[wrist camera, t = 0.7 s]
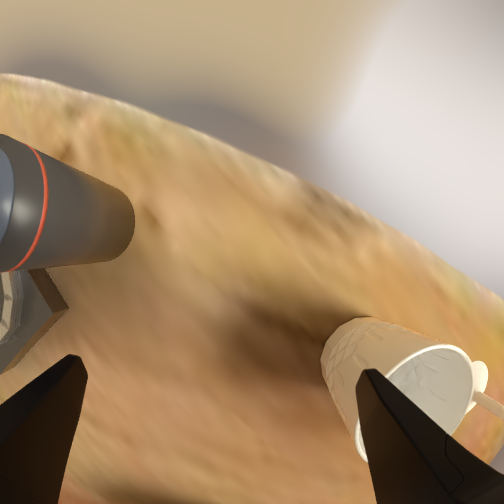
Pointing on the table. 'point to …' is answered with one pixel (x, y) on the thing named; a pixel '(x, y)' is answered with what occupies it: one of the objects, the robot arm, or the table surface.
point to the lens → (56, 212)
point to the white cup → (397, 371)
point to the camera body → (26, 312)
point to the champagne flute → (479, 388)
